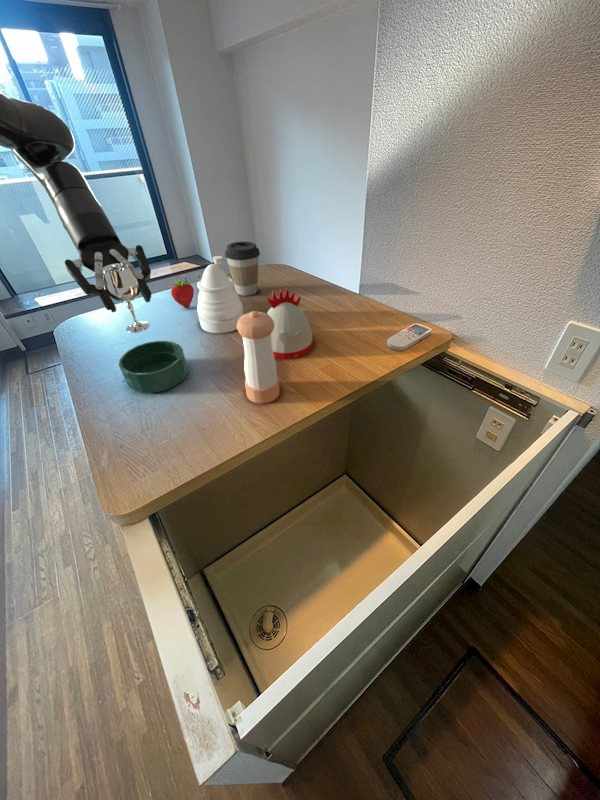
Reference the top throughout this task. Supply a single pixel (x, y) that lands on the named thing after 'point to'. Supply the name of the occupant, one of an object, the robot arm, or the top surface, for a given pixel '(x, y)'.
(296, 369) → the top surface
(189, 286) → the strawberry
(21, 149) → the robot arm
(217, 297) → the honey pot
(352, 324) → the top surface
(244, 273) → the coffee cup
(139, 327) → the wineglass
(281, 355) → the kitchen timer
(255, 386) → the salt shaker
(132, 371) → the green bowl
